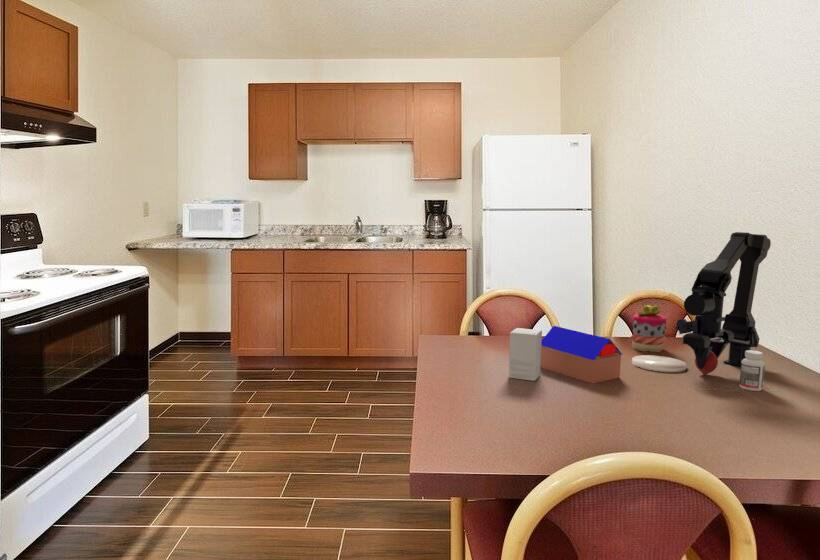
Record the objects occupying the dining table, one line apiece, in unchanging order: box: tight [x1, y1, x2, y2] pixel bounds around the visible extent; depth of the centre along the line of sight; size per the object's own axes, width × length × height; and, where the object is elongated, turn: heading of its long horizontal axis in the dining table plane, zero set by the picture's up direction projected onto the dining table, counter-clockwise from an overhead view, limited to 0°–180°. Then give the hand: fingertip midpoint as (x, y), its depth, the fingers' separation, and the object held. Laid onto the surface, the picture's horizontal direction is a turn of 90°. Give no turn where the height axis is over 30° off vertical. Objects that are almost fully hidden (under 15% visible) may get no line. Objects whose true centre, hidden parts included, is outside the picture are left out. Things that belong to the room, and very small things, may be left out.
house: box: [540, 325, 623, 384], centre depth 171 cm, size 12×20×12 cm, turn 34°
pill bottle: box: [739, 350, 766, 392], centre depth 159 cm, size 5×5×10 cm
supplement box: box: [508, 327, 543, 382], centre depth 165 cm, size 7×7×13 cm
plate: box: [631, 354, 688, 373], centre depth 181 cm, size 15×15×1 cm
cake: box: [630, 305, 667, 353], centre depth 202 cm, size 10×10×15 cm
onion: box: [694, 351, 719, 375], centre depth 172 cm, size 6×6×8 cm
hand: (705, 367), depth 172 cm, fingers closed on onion, 6 cm apart
